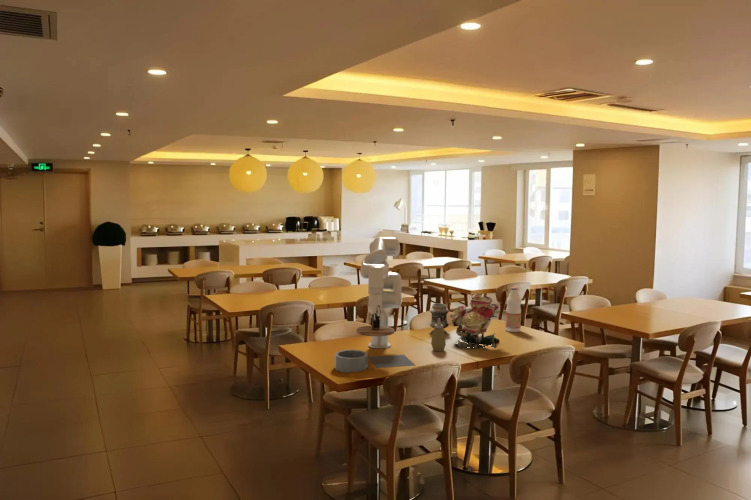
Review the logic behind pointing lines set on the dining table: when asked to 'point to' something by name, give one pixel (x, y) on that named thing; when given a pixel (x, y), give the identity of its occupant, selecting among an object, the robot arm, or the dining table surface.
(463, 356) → the dining table surface
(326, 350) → the dining table surface
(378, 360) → the gray square mat
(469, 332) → the rose bouquet
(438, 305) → the apothecary jar
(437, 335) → the squeeze bottle
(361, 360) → the slate bowl
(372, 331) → the walnut lid
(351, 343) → the dining table surface
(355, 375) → the dining table surface
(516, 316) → the fruit juice
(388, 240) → the robot arm
